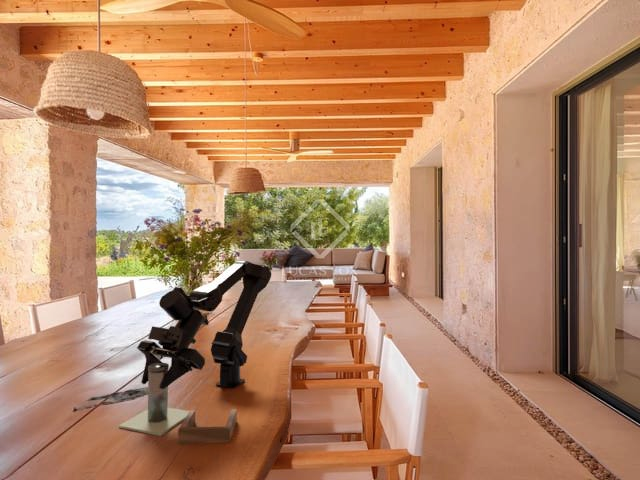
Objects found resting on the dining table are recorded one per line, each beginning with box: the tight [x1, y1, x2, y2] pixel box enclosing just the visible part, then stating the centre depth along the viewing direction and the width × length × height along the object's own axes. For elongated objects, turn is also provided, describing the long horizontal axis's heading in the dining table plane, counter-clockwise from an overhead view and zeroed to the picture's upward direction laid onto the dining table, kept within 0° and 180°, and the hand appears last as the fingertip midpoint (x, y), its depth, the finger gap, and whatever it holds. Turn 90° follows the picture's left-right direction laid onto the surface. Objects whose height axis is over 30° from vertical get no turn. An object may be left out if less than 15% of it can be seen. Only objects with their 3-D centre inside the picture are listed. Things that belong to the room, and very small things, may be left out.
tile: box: [118, 407, 190, 437], centre depth 105 cm, size 12×12×1 cm
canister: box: [147, 362, 170, 422], centre depth 105 cm, size 5×5×13 cm
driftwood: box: [73, 386, 148, 410], centre depth 118 cm, size 21×7×2 cm, turn 120°
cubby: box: [177, 408, 238, 444], centre depth 99 cm, size 10×11×3 cm
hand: (152, 385), depth 103 cm, fingers open, 6 cm apart
